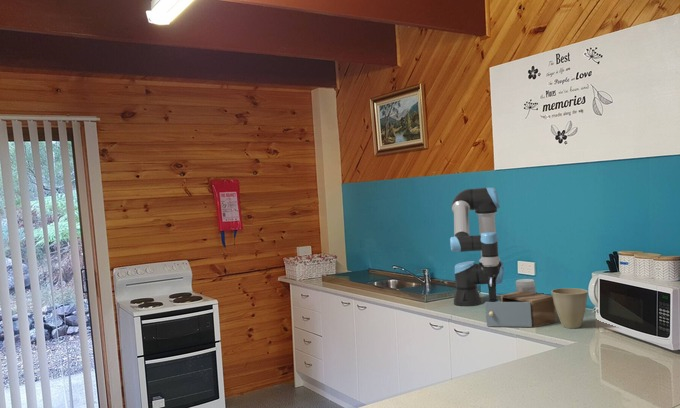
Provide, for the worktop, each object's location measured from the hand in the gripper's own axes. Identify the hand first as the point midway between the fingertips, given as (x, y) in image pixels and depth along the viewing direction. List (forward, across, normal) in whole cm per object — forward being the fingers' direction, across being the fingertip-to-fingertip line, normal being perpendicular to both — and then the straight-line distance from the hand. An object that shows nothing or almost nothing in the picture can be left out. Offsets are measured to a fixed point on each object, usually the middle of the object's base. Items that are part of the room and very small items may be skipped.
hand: (494, 315), depth 252 cm
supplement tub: (+5, +35, -13) cm, 38 cm away
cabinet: (+4, +8, -15) cm, 18 cm away
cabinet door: (+4, -5, -7) cm, 9 cm away
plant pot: (+5, -1, -33) cm, 34 cm away
